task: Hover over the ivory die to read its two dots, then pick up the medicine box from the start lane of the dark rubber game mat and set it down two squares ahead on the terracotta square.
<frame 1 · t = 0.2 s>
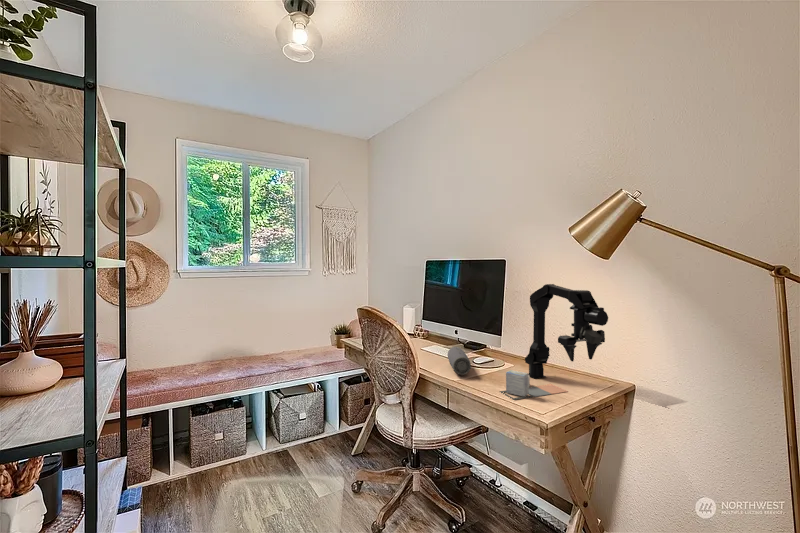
hand: (581, 360, 154), 14 cm above the table, tool pointing down, fingers open, 9 cm apart
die: (521, 385, 167), on the table
medicine box: (517, 394, 156), on the table, touching game mat
game mat: (534, 391, 159), on the table
bluetooth speaker: (458, 370, 190), on the table
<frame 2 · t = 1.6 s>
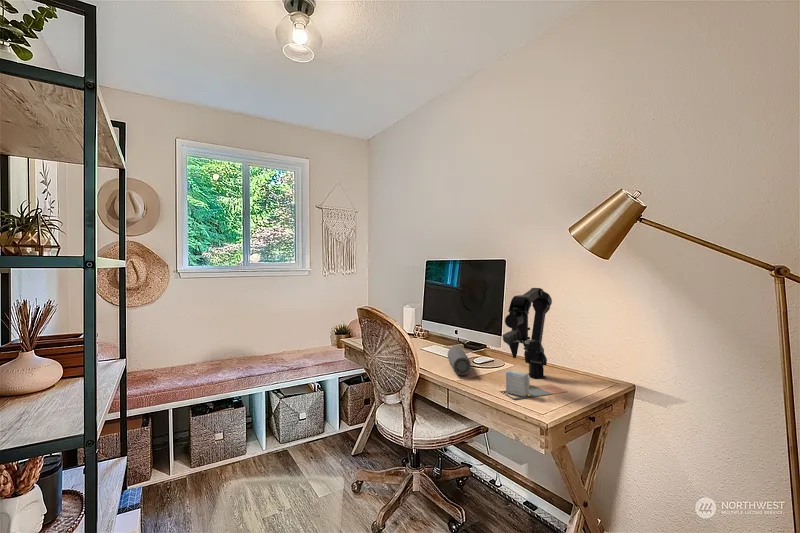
hand: (521, 360, 167), 11 cm above the table, tool pointing down, fingers open, 9 cm apart
nothing on the table moved.
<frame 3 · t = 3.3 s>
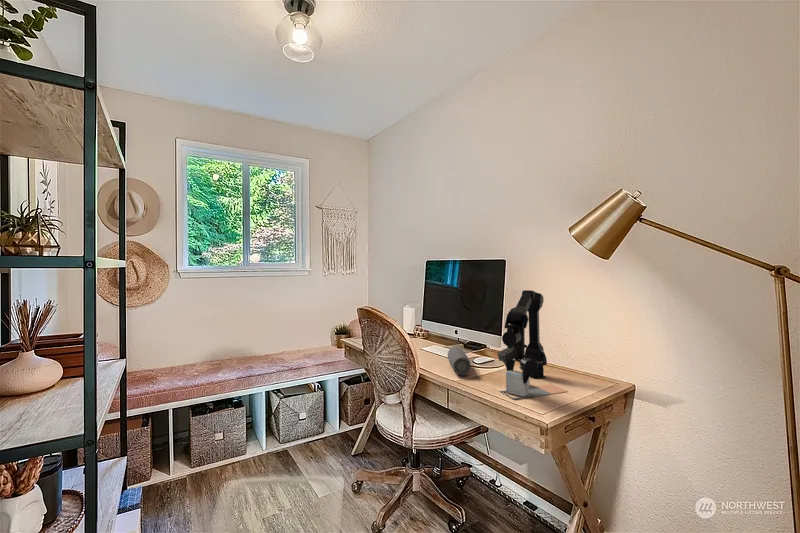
hand: (517, 380, 156), 6 cm above the table, tool pointing down, fingers open, 9 cm apart
nothing on the table moved.
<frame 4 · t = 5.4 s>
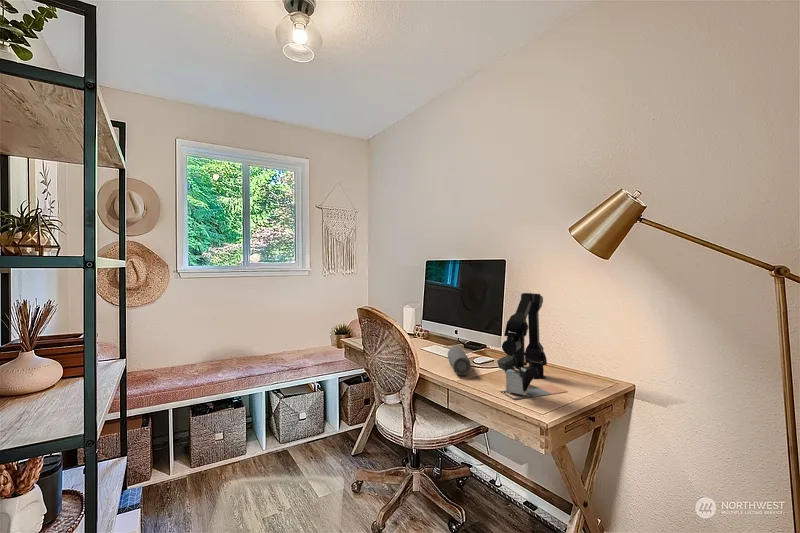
hand: (517, 387, 156), 3 cm above the table, tool pointing down, fingers closed on medicine box, 9 cm apart
medicine box: (517, 392, 156), point 1 cm above the table, touching gripper
everything else where it was.
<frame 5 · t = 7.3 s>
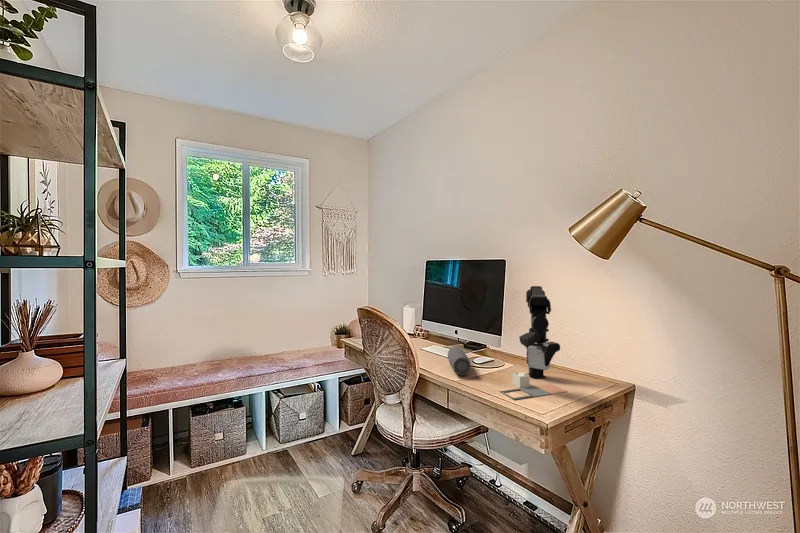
hand: (539, 363, 160), 12 cm above the table, tool pointing down, fingers closed on medicine box, 9 cm apart
medicine box: (538, 368, 160), point 10 cm above the table, touching gripper
everything else where it was.
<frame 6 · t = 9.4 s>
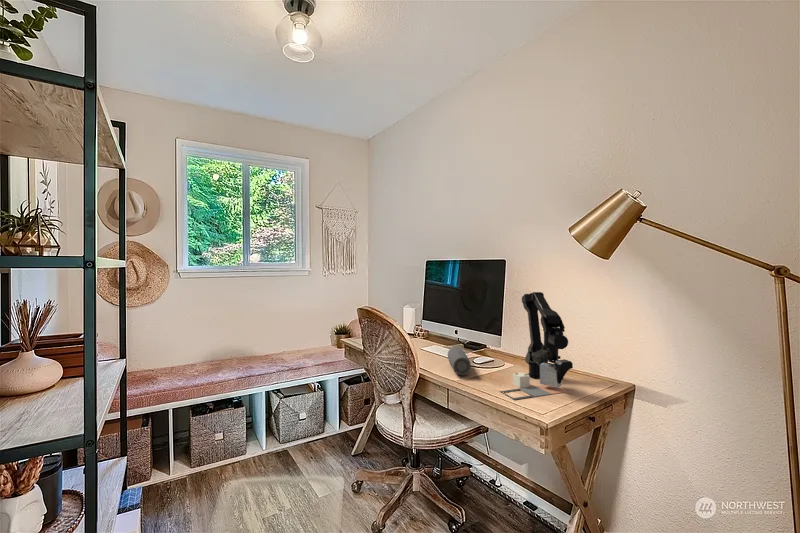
hand: (551, 380, 162), 4 cm above the table, tool pointing down, fingers closed on medicine box, 9 cm apart
medicine box: (550, 385, 162), point 2 cm above the table, touching gripper
everything else where it was.
when the fingers open (4 cm above the table, at t = 10.5 s): medicine box drops 1 cm, resting on game mat.
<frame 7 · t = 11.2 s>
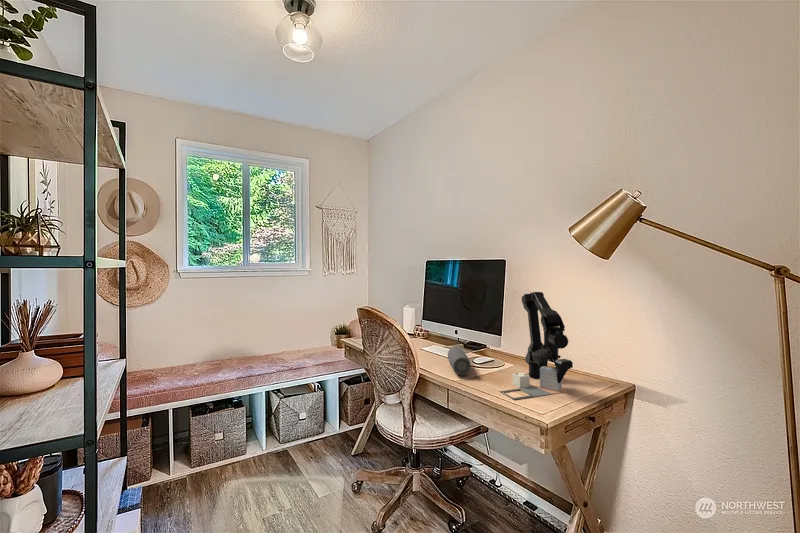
hand: (551, 379, 162), 4 cm above the table, tool pointing down, fingers open, 9 cm apart
medicine box: (551, 388, 162), resting on game mat, touching gripper
everything else where it was.
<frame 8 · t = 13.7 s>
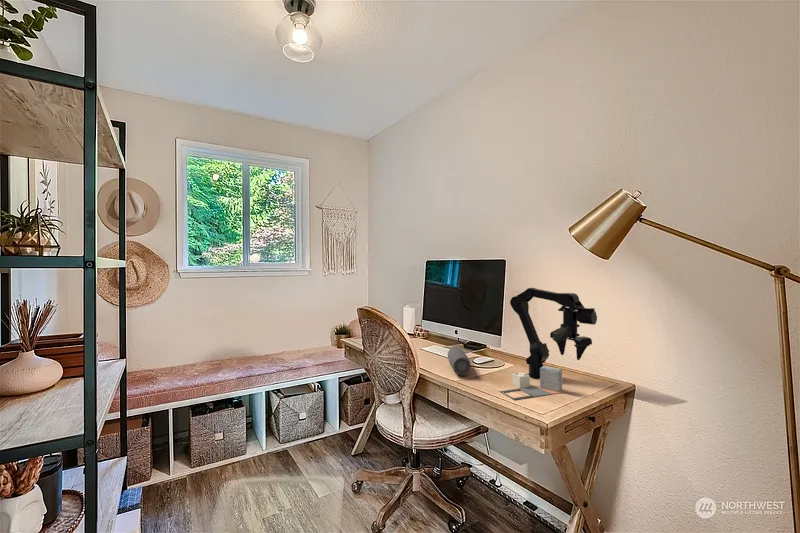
hand: (570, 357, 168), 12 cm above the table, tool pointing down, fingers open, 9 cm apart
medicine box: (551, 389, 162), resting on game mat
everything else where it was.
at the end: medicine box 0.0 cm from the target spot, resting on game mat; medicine box tilted 0°; the gripper is holding nothing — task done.
